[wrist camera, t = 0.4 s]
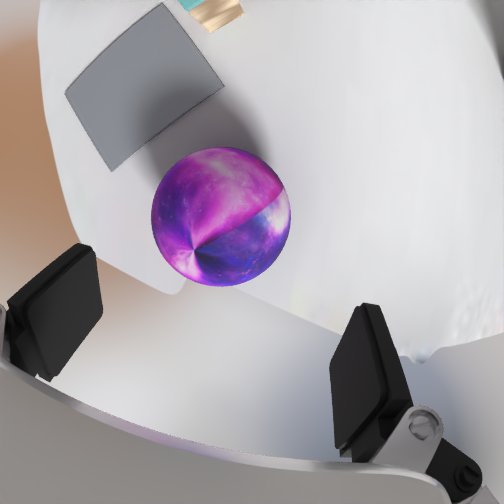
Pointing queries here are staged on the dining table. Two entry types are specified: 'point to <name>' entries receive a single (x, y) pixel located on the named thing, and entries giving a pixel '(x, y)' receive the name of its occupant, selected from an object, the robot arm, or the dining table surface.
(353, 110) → the dining table surface
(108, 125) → the slate mat
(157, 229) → the decorative orb
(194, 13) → the maple block
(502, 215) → the dining table surface
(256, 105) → the dining table surface
